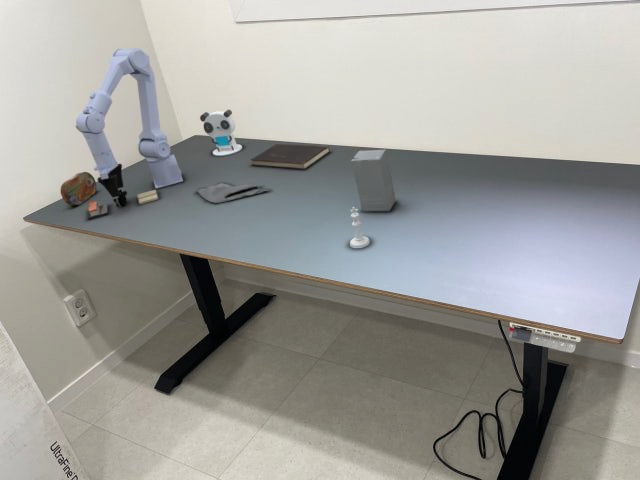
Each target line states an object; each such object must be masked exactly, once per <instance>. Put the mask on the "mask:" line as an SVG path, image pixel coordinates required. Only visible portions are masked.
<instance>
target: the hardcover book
mask: <svg viewBox="0 0 640 480" xmlns="http://www.w3.org/2000/svg"><path fill="white" fill-rule="evenodd" d="M330 151H331V150H330V147H329V146H325V145H307V144H289V143H288V144H287V143H275V144H274V145H272V146H270V147H269V148H267V149H265V150H264V151H262V152H260V153H259V154H257V155H256V156H254V157H253V158H251V159H250V161H251V162H252V164H251V166H252V167H253V166H254V167H265V168H266V167H267V168H278V169H290V170H291V169H292V170H303V171H306V170H307V169H308V168H309V167H311V166H312V165H314V164H315V163H317V162H319V161H320V160H321V159H323V158H324V157H325V156H327V155H328V154H330Z"/></svg>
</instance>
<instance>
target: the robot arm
mask: <svg viewBox="0 0 640 480" xmlns="http://www.w3.org/2000/svg"><path fill="white" fill-rule="evenodd" d="M126 75H130V76H131V77H132V78H133V79H135V80H136V84H137V91H138V92H137V93H138V100H139V109H140V116H141V126H142V130H141V132H140V134H139V135H138V144H137V150H138V153H139V155H140V156H142V157H143V158H144V160H145V161H146V162H147V164H148V167H149V170H150V172H151V175H152V178H153V184H154V188H155V190H157V189H161V188H164V187H168V186H172V185H175V184H179V183H182V182H184V180H183V176H182V174H183V173H182V171H181V169H180V168H179V164H178V162H177V159H176V157H175V156H176V155H175V154H171V145H170V144H169V141H168V137H167V135H166V134H165V132H163V130H161V124H160V115H159V105H158V95H157V87H156V85H157V84H156V77H155V76H156V75H155V73H154V70H153V68H152V66H151V62H150V56H149V55H148V54H147V53H146V52H145V51H144V50H143V49H141V48H137V47H135V48H130V49H129V48H127V49H126V48H125V49H122V48H117V49H115V50H114V52H113V53H112V56H111V57H110V58H109V67H108V68H107V71H106V73H105V75H104V79H103V81H102V83H101V85H100V88H99V90H95V91H93V92H92V93H90V94H89V96H88V98H89V100H88V101H87V103H86V106H85V107H83V109H82V113H80V114H78V115H77V117H76V119H75V124H76V125H75V128H76V130H77V131H78V132H80V133H81V134H82V136H83V137H84V139H85V142H86V145H87V146H88V148H89V151H90V153H91V155H92V158H93V160H94V162H95V165H96V166H94V168H93V170H94V171H95V172H96V171H97V172H98V173H99V176H98V177H97V179H96V180H97V182H98V183H99V184H100V185H102V186H103V188H105V190H106V191H107V193H108V194H109V195H110V196H111V197H112V198H118V196H119V190H120V189H122V188H124V180H123V173H122V171H123V164H122V163H118V162H117V160H116V157H115V156H114V152H113V150H112V149H111V146H110V144H109V141H108V138H107V136H106V134H105V131H104V129H105V127H106V123H105V120H106V116H107V114H108V112H109V110H110V108H111V106H112V104H113V99H112V95H113V93H114V92H115V90H116V88H117V86H118V85H119V83H120V82H121V79H122V78H123V77H124V76H126Z"/></svg>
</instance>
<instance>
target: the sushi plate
mask: <svg viewBox="0 0 640 480" xmlns="http://www.w3.org/2000/svg"><path fill="white" fill-rule="evenodd" d="M108 215H109V205H108V203H105V204H102V205H99V204H98V201H97V200H94V201H90V202H88V208H87V219H88V221H90V220H94V219H98V218H101V217H105V216H108Z"/></svg>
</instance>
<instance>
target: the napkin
mask: <svg viewBox="0 0 640 480" xmlns="http://www.w3.org/2000/svg"><path fill="white" fill-rule="evenodd" d="M137 199H138V203H139V205H143V204H147V203H150V202H154V201H157V200H159V196H158V192H157V189H153V190H149V191H145V192H141V193H138V194H137Z"/></svg>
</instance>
